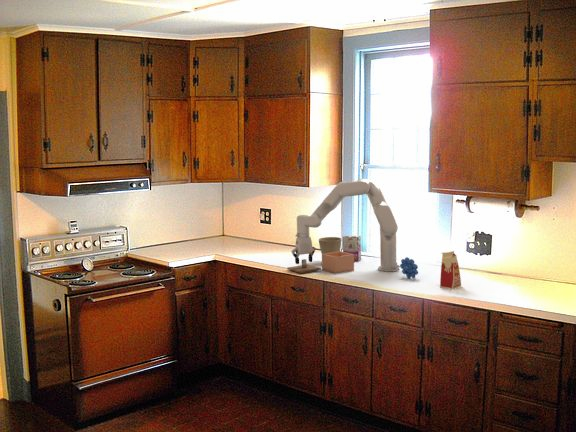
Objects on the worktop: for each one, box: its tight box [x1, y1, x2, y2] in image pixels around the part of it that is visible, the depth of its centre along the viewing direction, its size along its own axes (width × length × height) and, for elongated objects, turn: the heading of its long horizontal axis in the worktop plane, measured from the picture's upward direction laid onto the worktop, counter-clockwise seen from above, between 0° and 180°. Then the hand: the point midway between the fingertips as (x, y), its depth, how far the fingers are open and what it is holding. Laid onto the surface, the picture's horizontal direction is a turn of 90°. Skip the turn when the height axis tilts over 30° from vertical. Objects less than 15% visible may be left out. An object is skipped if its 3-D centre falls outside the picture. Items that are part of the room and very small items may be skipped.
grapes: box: [399, 256, 419, 279], centre depth 373 cm, size 12×7×12 cm, turn 49°
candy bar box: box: [342, 234, 362, 262], centre depth 428 cm, size 11×5×16 cm, turn 62°
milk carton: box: [439, 250, 462, 291], centre depth 350 cm, size 9×9×20 cm
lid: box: [287, 258, 322, 274], centre depth 401 cm, size 15×15×7 cm
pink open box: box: [321, 250, 355, 275], centre depth 400 cm, size 14×14×10 cm
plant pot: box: [318, 236, 343, 255], centre depth 421 cm, size 15×15×16 cm
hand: (303, 262), depth 401 cm, fingers open, 9 cm apart
